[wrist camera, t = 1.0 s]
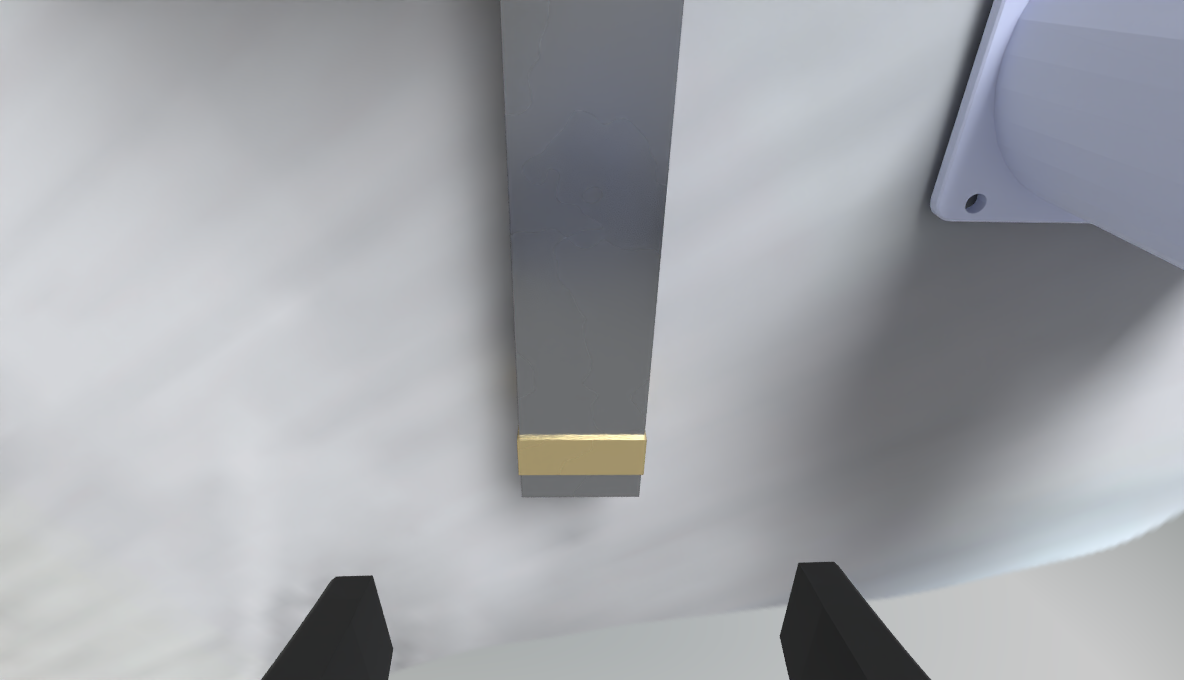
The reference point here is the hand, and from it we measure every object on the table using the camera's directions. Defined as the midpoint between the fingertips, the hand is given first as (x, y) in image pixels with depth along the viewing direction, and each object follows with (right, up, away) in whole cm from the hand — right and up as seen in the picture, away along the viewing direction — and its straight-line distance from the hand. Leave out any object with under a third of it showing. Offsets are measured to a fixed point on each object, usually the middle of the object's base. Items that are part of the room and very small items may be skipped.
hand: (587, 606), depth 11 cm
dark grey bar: (0, +9, +5) cm, 10 cm away
